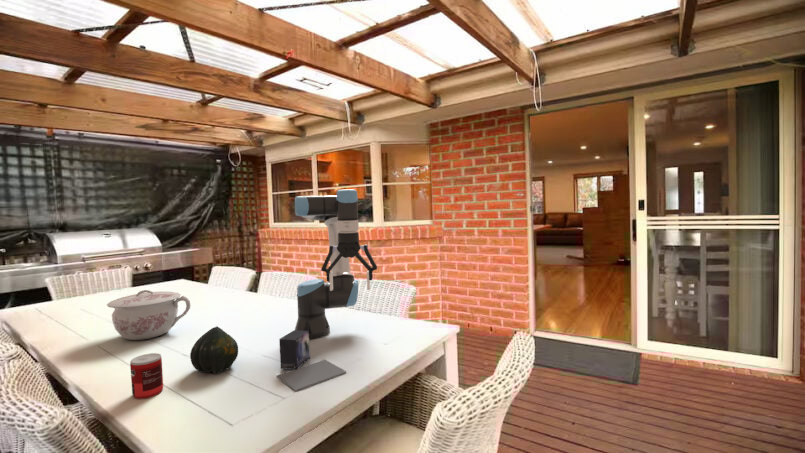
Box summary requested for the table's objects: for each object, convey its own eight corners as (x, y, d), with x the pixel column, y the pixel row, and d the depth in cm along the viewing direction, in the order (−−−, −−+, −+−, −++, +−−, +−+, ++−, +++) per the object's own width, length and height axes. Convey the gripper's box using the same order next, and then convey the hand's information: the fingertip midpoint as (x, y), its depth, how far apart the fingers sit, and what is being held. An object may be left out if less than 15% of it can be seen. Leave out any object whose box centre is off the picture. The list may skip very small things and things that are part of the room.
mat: (276, 376, 122) (276, 375, 122) (325, 360, 134) (325, 359, 134) (295, 391, 112) (295, 390, 112) (346, 373, 123) (346, 371, 123)
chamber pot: (94, 342, 161) (91, 295, 160) (157, 323, 186) (154, 282, 185) (137, 349, 150) (133, 299, 149) (197, 328, 176) (194, 285, 175)
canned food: (142, 388, 117) (139, 353, 116) (168, 386, 118) (166, 352, 117) (126, 400, 109) (123, 363, 109) (154, 398, 110) (152, 362, 109)
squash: (198, 368, 117) (225, 324, 125) (173, 361, 125) (200, 320, 133) (231, 384, 126) (254, 342, 134) (206, 376, 134) (229, 337, 142)
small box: (297, 370, 125) (295, 339, 125) (279, 369, 127) (277, 339, 127) (311, 358, 136) (309, 329, 136) (294, 358, 137) (293, 329, 137)
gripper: (311, 233, 131) (313, 292, 133) (382, 232, 132) (383, 291, 133) (316, 231, 139) (318, 287, 140) (382, 230, 139) (384, 286, 141)
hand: (350, 289), depth 137 cm, fingers open, 13 cm apart
